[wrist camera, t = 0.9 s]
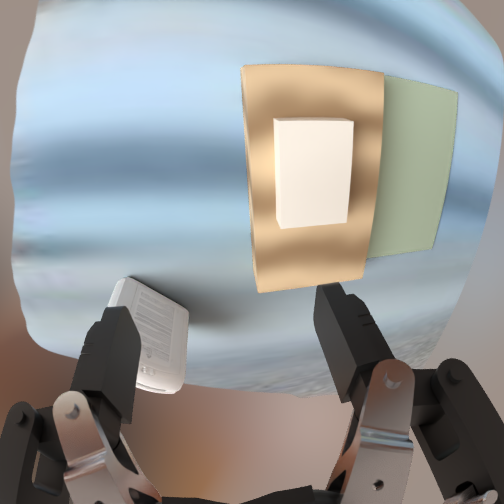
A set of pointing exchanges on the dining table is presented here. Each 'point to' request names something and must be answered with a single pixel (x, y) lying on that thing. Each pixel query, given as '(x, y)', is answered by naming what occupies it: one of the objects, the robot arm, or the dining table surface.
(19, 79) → the dining table surface
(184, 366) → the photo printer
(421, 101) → the sage mat
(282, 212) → the cream tile
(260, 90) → the board
